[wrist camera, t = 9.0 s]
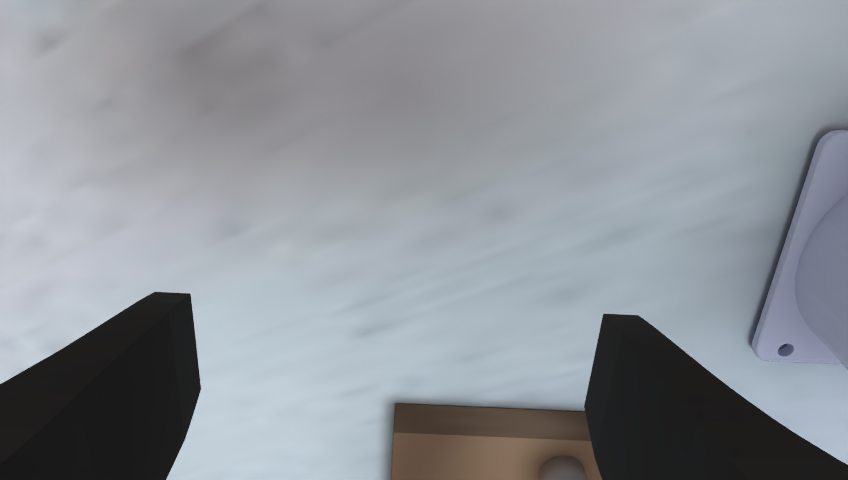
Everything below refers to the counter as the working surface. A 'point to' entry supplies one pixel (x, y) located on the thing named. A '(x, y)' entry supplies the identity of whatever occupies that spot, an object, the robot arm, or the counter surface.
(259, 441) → the counter surface
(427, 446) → the gear board
